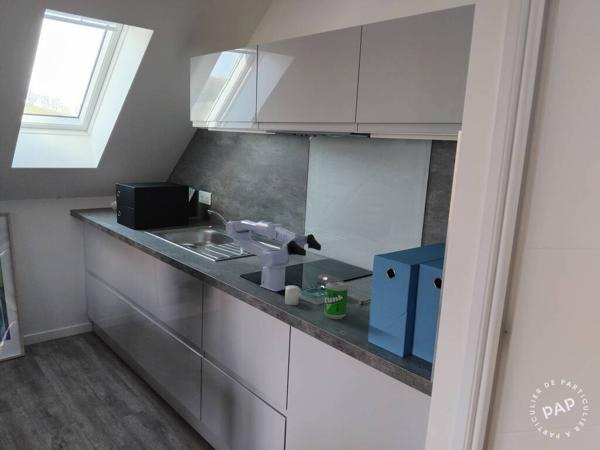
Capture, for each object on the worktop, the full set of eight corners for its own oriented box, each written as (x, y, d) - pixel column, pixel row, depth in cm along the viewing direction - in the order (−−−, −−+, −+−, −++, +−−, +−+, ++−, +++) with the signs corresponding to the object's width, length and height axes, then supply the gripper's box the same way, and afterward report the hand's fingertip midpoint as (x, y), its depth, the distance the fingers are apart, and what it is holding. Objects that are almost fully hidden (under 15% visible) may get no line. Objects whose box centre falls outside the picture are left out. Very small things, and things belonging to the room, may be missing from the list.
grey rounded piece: (282, 302, 170) (282, 286, 169) (294, 299, 175) (295, 283, 174) (291, 306, 166) (292, 290, 165) (304, 302, 171) (305, 287, 170)
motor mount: (295, 297, 177) (296, 278, 175) (325, 288, 190) (327, 271, 188) (319, 305, 168) (320, 286, 167) (348, 296, 182) (350, 278, 180)
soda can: (332, 310, 164) (334, 278, 162) (349, 316, 159) (352, 283, 157) (319, 315, 158) (321, 282, 156) (336, 321, 153) (339, 287, 151)
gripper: (274, 233, 173) (298, 245, 163) (303, 224, 182) (327, 235, 173) (274, 250, 175) (297, 263, 166) (302, 240, 184) (326, 252, 175)
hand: (312, 250), depth 170 cm, fingers open, 7 cm apart
